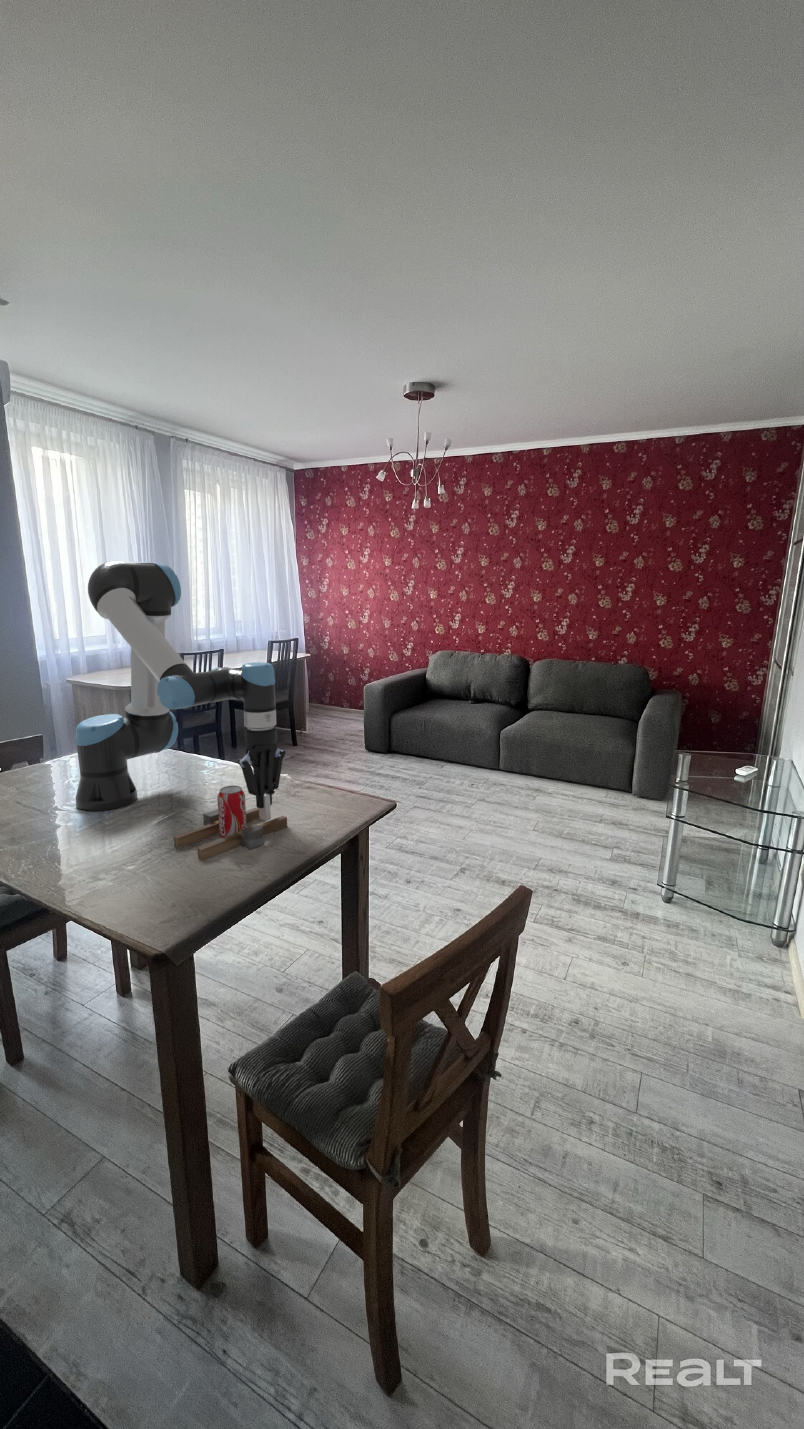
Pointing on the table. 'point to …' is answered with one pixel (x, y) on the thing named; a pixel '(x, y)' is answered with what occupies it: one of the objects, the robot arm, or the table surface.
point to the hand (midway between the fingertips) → (265, 818)
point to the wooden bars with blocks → (244, 837)
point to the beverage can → (231, 810)
